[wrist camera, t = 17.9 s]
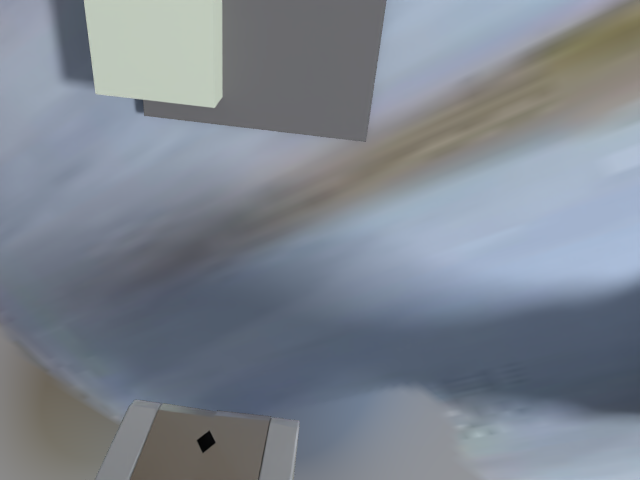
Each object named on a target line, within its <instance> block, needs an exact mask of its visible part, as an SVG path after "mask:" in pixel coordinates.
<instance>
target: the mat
mask: <svg viewBox="0 0 640 480" xmlns="http://www.w3.org/2000/svg"><path fill="white" fill-rule="evenodd" d="M385 7H386V0H222V98H221V100H220V101H219V102H218V104H217V105H216V107H215V108H211V107H202V106H194V105H185V104H177V103H168V102H160V101H151V100H143V106H144V116H151V117H160V118H168V119H177V120H185V121H194V122H202V123H210V124H219V125H227V126H236V127H244V128H253V129H261V130H270V131H278V132H287V133H295V134H304V135H312V136H321V137H329V138H337V139H346V140H354V141H363V142H366V137H367V130H368V123H369V117H370V110H371V103H372V96H373V89H374V82H375V75H376V69H377V62H378V55H379V48H380V41H381V34H382V27H383V20H384V14H385Z"/></svg>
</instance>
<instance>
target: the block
mask: <svg viewBox="0 0 640 480" xmlns="http://www.w3.org/2000/svg"><path fill="white" fill-rule="evenodd" d="M84 6H85V14H86V22H87V30H88V37H89V45H90V53H91V61H92V69H93V77H94V85H95V93H96V94H100V95H108V96H117V97H125V98H134V99H143V100H151V101H160V102H168V103H177V104H185V105H194V106H202V107H211V108H215V107H216V105H217V104H218V102H219V101H220V100H221V98H222V0H84Z"/></svg>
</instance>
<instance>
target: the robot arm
mask: <svg viewBox="0 0 640 480" xmlns="http://www.w3.org/2000/svg"><path fill="white" fill-rule="evenodd" d="M298 433H299V420H291V419H283V418H274V417H272V418H271V416H263V415H254V414H245V413H236V412H227V411H218V410H217V411H210V410H204V409H197V408H191V407H184V406H178V405H171V404H165V403H157V402H150V401H143V400H134V401H133V403H132V404H131V405H130V406H129V407H128V409H127V412H126V414H125V416H124V418H123V420H122V422H121V424H120V426H119V429H118V431H117V433H116V435H115V437H114V439H113V441H112V444H111V446H110V448H109V450H108V452H107V454H106V456H105V458H104V461H103V463H102V465H101V467H100V469H99V471H98V474H97V476H96V478H95V480H293V479H294V470H295V460H296V451H297V443H298Z"/></svg>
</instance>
